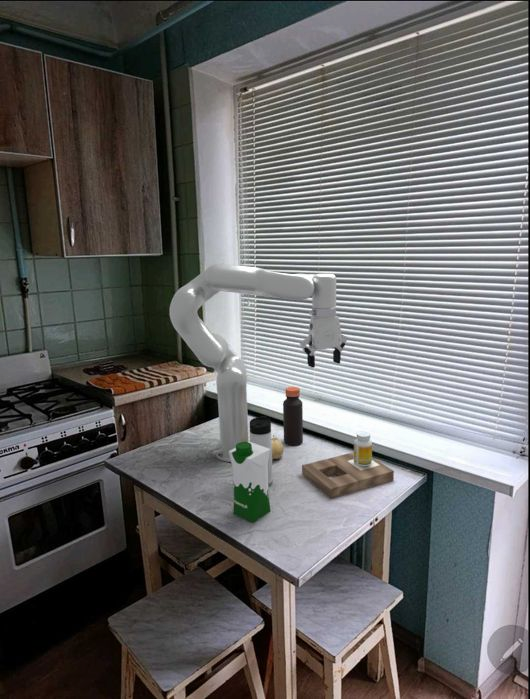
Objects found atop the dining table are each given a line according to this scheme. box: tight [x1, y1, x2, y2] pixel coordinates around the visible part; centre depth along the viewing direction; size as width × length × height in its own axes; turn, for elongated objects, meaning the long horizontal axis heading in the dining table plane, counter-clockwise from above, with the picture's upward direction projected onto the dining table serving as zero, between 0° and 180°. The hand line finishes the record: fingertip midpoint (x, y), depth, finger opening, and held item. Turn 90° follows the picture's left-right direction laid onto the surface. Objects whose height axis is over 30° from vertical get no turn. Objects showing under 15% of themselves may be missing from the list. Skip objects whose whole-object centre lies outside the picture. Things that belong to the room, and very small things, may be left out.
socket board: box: [301, 451, 395, 500], centre depth 141 cm, size 22×16×3 cm
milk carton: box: [229, 441, 271, 524], centre depth 122 cm, size 9×9×20 cm
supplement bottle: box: [353, 430, 373, 467], centre depth 142 cm, size 5×5×10 cm
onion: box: [271, 434, 284, 461], centre depth 155 cm, size 8×8×7 cm
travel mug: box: [249, 415, 274, 488], centre depth 137 cm, size 6×7×20 cm
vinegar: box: [282, 386, 304, 447], centre depth 165 cm, size 7×7×20 cm
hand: (324, 364), depth 153 cm, fingers open, 9 cm apart
